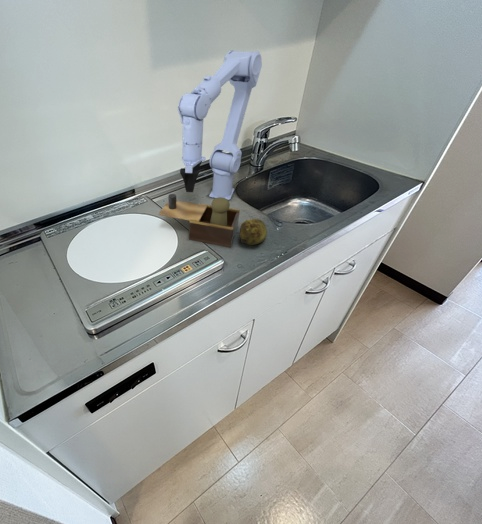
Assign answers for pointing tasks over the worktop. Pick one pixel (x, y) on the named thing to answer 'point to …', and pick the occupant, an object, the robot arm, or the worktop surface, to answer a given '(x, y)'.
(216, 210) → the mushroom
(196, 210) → the sliding lid
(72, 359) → the worktop surface
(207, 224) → the box
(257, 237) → the potato
